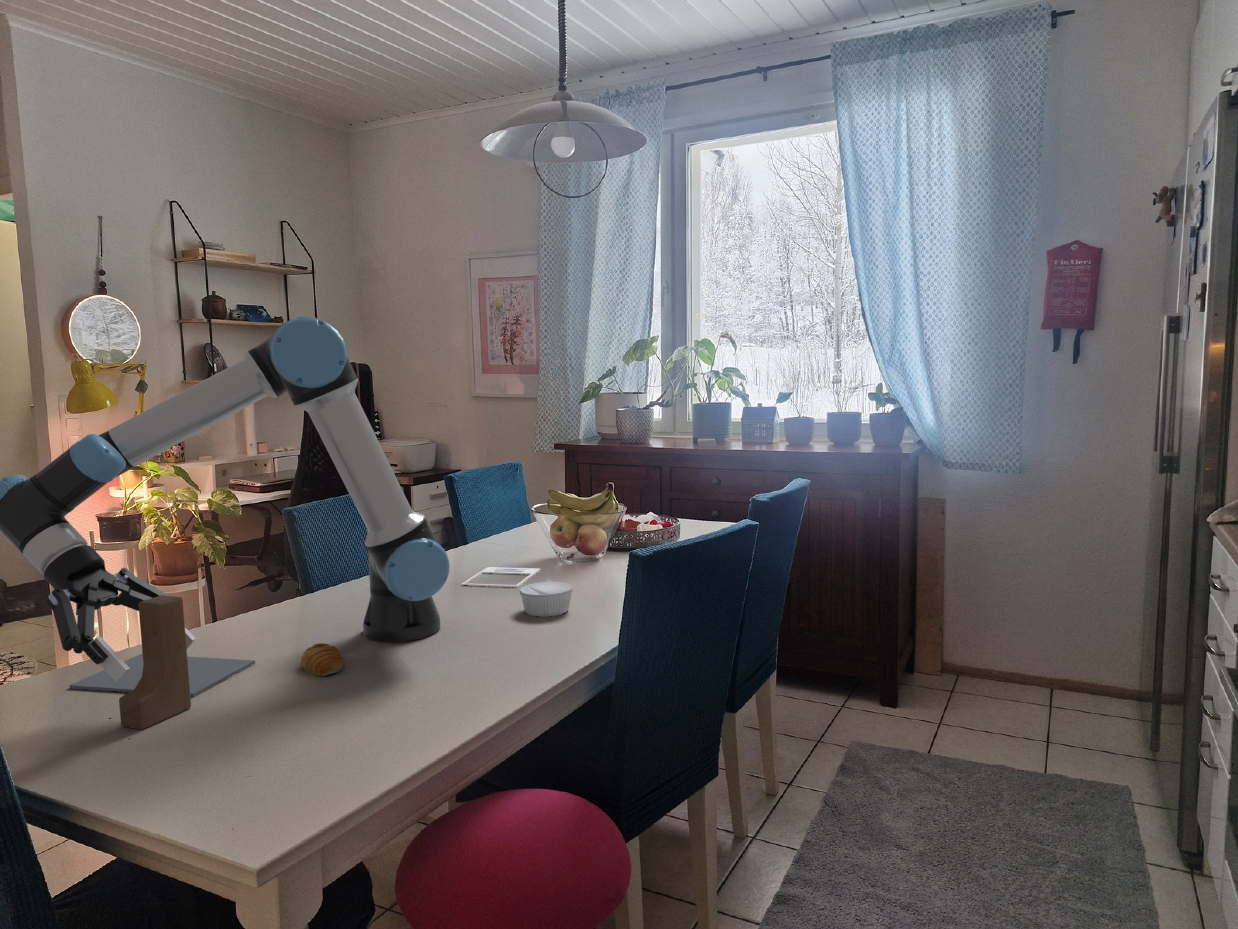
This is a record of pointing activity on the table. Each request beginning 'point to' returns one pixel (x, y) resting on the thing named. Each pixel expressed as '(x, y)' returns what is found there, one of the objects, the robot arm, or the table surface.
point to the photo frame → (504, 571)
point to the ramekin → (546, 598)
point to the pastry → (322, 659)
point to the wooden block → (159, 665)
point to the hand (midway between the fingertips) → (158, 659)
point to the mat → (199, 668)
